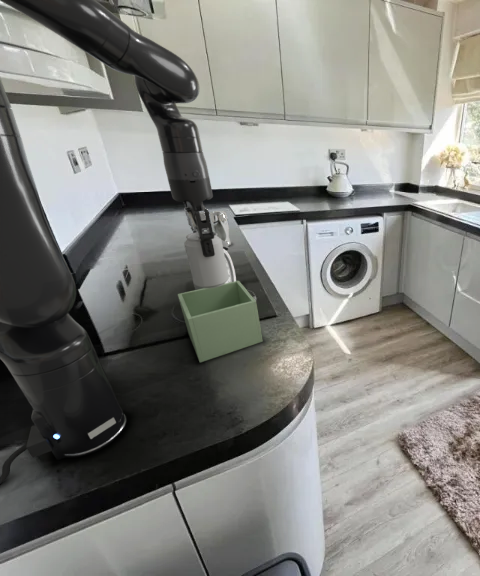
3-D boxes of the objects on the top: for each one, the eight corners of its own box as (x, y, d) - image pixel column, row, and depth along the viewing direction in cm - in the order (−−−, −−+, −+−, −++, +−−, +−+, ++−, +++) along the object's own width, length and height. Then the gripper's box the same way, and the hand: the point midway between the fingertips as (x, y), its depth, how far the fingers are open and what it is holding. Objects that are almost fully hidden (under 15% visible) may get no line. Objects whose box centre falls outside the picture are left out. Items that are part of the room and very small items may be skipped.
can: (234, 277, 80) (225, 230, 75) (221, 290, 74) (211, 239, 68) (203, 276, 80) (192, 229, 75) (188, 289, 73) (175, 239, 68)
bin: (199, 362, 75) (187, 319, 70) (188, 333, 85) (177, 294, 80) (262, 341, 83) (256, 301, 78) (245, 317, 93) (238, 280, 88)
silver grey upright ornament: (233, 246, 148) (226, 213, 141) (216, 248, 145) (209, 214, 139) (232, 241, 154) (226, 210, 147) (215, 243, 151) (209, 211, 144)
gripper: (162, 172, 69) (181, 245, 76) (172, 181, 59) (192, 264, 66) (201, 171, 73) (216, 240, 81) (216, 178, 63) (231, 257, 70)
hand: (205, 250), depth 73 cm, fingers closed on can, 7 cm apart
